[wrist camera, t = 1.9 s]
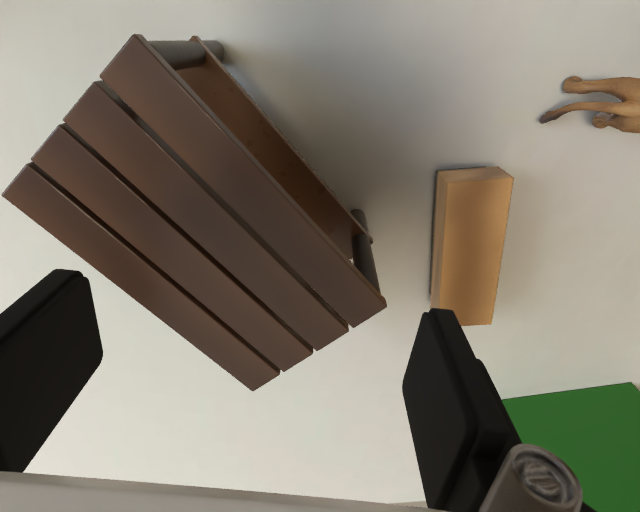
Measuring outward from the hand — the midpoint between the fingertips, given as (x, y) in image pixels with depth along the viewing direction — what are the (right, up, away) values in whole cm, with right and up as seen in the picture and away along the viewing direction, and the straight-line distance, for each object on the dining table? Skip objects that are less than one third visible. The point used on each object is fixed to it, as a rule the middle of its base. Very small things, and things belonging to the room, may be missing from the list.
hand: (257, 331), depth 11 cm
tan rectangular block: (+14, +4, +24) cm, 27 cm away
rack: (-4, +8, +21) cm, 23 cm away
